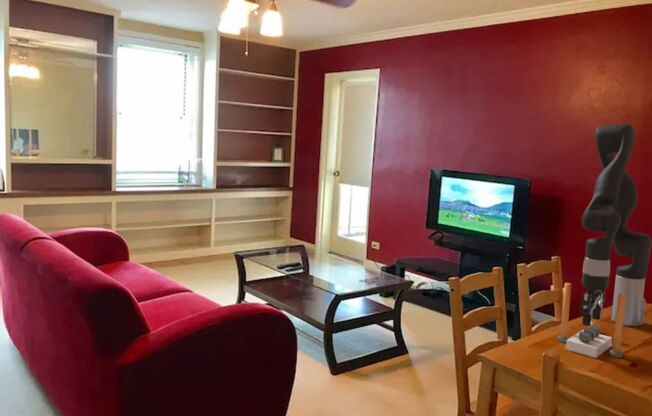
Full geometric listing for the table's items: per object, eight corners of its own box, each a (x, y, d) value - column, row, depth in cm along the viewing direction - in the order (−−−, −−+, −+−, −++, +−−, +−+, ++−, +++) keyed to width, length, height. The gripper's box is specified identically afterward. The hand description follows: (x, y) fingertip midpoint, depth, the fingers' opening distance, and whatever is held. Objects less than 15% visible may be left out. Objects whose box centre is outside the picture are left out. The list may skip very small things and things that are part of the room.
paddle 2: (590, 331, 178) (590, 325, 177) (600, 334, 176) (600, 327, 175) (588, 334, 177) (588, 327, 176) (598, 336, 175) (598, 330, 174)
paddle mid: (585, 334, 175) (585, 328, 174) (595, 337, 173) (595, 330, 172) (583, 337, 174) (583, 330, 173) (593, 339, 172) (593, 333, 171)
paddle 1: (581, 337, 172) (580, 331, 171) (591, 340, 170) (590, 333, 169) (579, 340, 171) (578, 333, 170) (589, 342, 169) (589, 336, 168)
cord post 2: (618, 353, 170) (624, 293, 168) (624, 358, 167) (631, 297, 164) (606, 352, 170) (613, 293, 168) (612, 357, 167) (619, 296, 164)
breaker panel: (582, 338, 182) (583, 329, 182) (611, 346, 176) (612, 337, 175) (565, 349, 172) (566, 339, 172) (595, 358, 166) (596, 348, 165)
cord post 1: (566, 338, 181) (571, 282, 179) (571, 342, 178) (576, 285, 175) (555, 338, 181) (560, 282, 179) (560, 342, 178) (565, 285, 175)
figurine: (608, 334, 187) (612, 300, 185) (601, 338, 183) (604, 303, 181) (583, 327, 193) (587, 294, 191) (576, 331, 189) (579, 297, 187)
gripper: (591, 266, 178) (587, 314, 180) (574, 273, 168) (570, 324, 170) (616, 270, 173) (611, 320, 175) (600, 278, 163) (595, 330, 165)
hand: (591, 322), depth 173 cm, fingers open, 8 cm apart
